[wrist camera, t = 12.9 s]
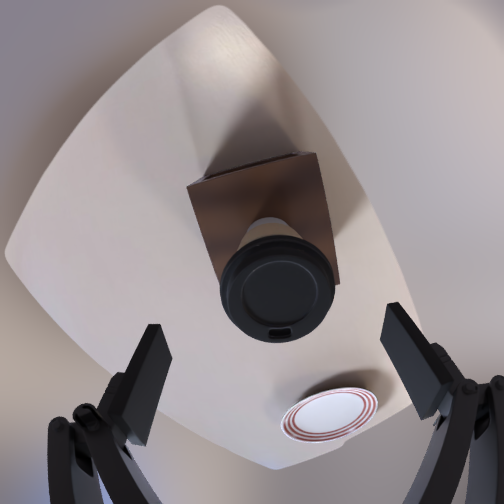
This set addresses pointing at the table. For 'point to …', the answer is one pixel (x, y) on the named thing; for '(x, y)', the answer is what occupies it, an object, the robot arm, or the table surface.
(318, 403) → the dinner plate
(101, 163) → the table surface
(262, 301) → the coffee cup
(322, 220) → the wooden cubby box
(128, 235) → the table surface
